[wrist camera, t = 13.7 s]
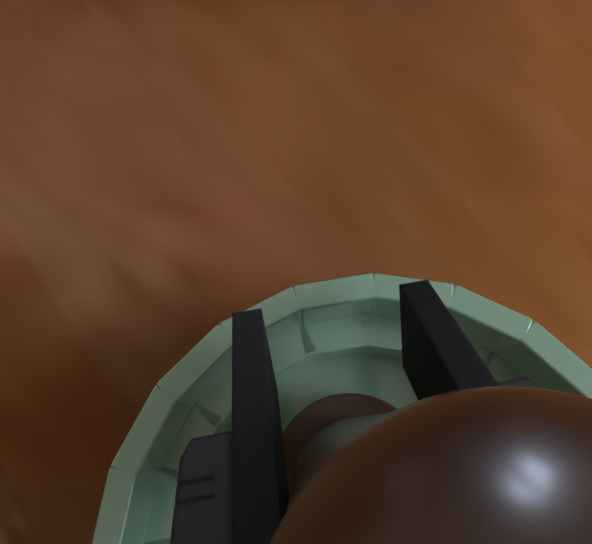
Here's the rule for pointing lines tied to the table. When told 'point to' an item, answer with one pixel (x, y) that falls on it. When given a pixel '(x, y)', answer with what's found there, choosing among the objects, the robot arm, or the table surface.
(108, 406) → the table surface
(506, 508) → the pestle
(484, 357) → the bowl
